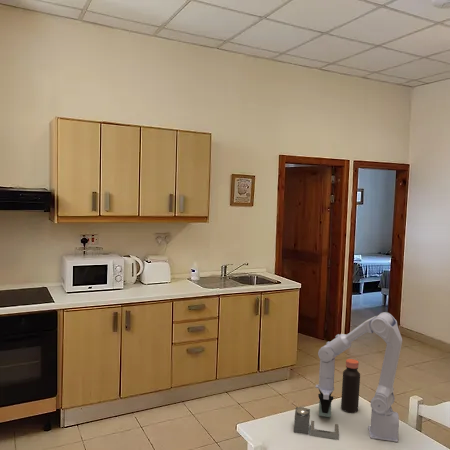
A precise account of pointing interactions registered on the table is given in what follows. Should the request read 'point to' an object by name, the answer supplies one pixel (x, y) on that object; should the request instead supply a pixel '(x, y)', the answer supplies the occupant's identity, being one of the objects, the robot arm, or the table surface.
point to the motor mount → (303, 425)
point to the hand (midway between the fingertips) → (324, 409)
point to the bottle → (350, 387)
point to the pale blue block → (324, 413)
